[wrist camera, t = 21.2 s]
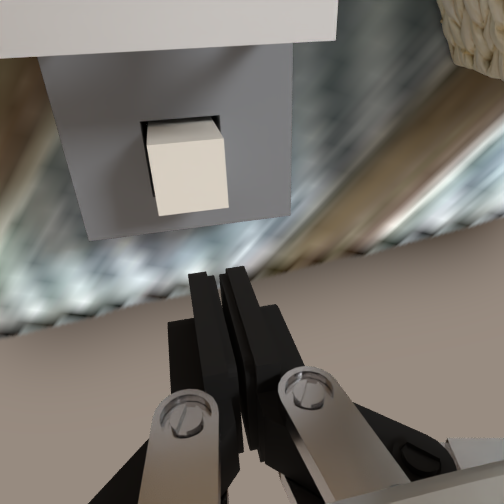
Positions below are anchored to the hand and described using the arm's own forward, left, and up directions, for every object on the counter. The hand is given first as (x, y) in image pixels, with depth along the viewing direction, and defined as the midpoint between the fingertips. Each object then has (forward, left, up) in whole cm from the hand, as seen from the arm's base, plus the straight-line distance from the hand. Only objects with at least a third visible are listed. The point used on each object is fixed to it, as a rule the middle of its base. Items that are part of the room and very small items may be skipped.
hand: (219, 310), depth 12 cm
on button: (0, 0, -18) cm, 18 cm away
